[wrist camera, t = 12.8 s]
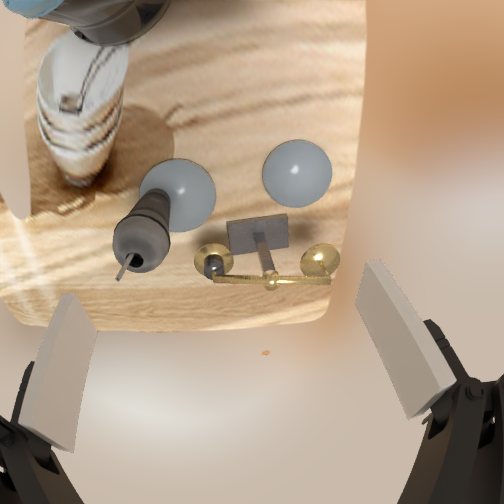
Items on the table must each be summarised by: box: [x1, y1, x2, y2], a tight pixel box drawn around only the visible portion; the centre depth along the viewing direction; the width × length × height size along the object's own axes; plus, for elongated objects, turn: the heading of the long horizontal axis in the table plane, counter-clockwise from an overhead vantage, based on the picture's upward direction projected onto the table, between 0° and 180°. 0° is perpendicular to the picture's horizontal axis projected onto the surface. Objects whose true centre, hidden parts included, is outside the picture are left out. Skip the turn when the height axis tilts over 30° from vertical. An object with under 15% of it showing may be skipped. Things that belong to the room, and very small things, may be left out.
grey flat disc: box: [139, 159, 216, 232], centre depth 43 cm, size 12×12×1 cm
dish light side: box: [263, 140, 332, 208], centre depth 43 cm, size 11×11×1 cm
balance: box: [194, 214, 340, 291], centre depth 43 cm, size 6×21×15 cm, turn 96°
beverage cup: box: [113, 188, 171, 281], centre depth 34 cm, size 7×7×20 cm
